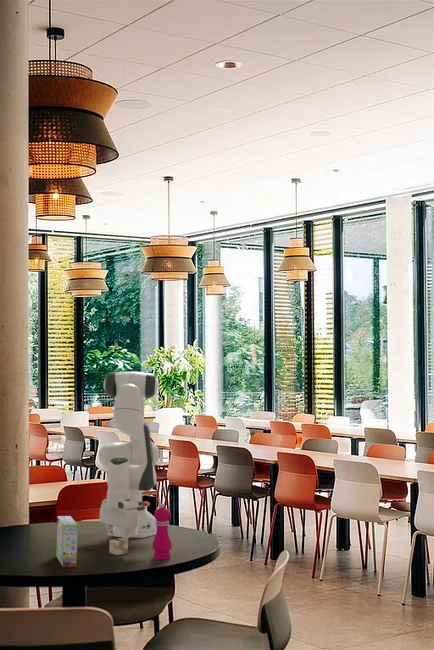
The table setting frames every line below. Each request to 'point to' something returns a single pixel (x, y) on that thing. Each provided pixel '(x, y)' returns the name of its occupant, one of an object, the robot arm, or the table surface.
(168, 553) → the pepper mill
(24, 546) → the table surface
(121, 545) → the letter cube
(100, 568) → the table surface
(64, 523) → the snack box
